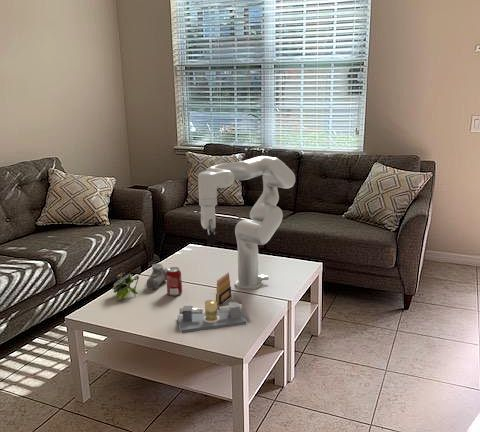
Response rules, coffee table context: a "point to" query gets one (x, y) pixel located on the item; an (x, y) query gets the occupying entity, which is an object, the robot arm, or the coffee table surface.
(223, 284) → the ammunition clip
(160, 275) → the pipe fitting
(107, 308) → the coffee table surface
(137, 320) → the coffee table surface
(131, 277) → the passion flower
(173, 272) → the soda can
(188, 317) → the grey block on rod
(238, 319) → the shaft rig
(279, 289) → the coffee table surface
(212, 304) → the tan rounded cylinder
